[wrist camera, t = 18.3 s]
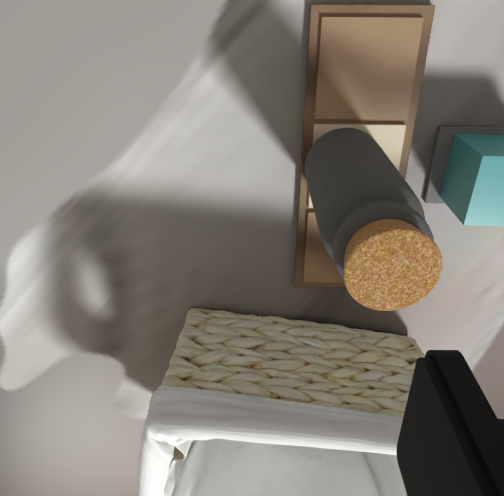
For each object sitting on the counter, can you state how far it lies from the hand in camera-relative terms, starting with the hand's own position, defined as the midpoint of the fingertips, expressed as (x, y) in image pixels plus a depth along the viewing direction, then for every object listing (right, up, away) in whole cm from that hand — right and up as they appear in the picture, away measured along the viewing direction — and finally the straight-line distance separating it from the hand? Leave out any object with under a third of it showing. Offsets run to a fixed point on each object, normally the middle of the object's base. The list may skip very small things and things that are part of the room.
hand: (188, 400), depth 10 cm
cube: (+19, +9, +27) cm, 34 cm away
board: (+9, +10, +27) cm, 30 cm away
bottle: (+8, +9, +26) cm, 29 cm away
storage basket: (+5, -9, +38) cm, 39 cm away
